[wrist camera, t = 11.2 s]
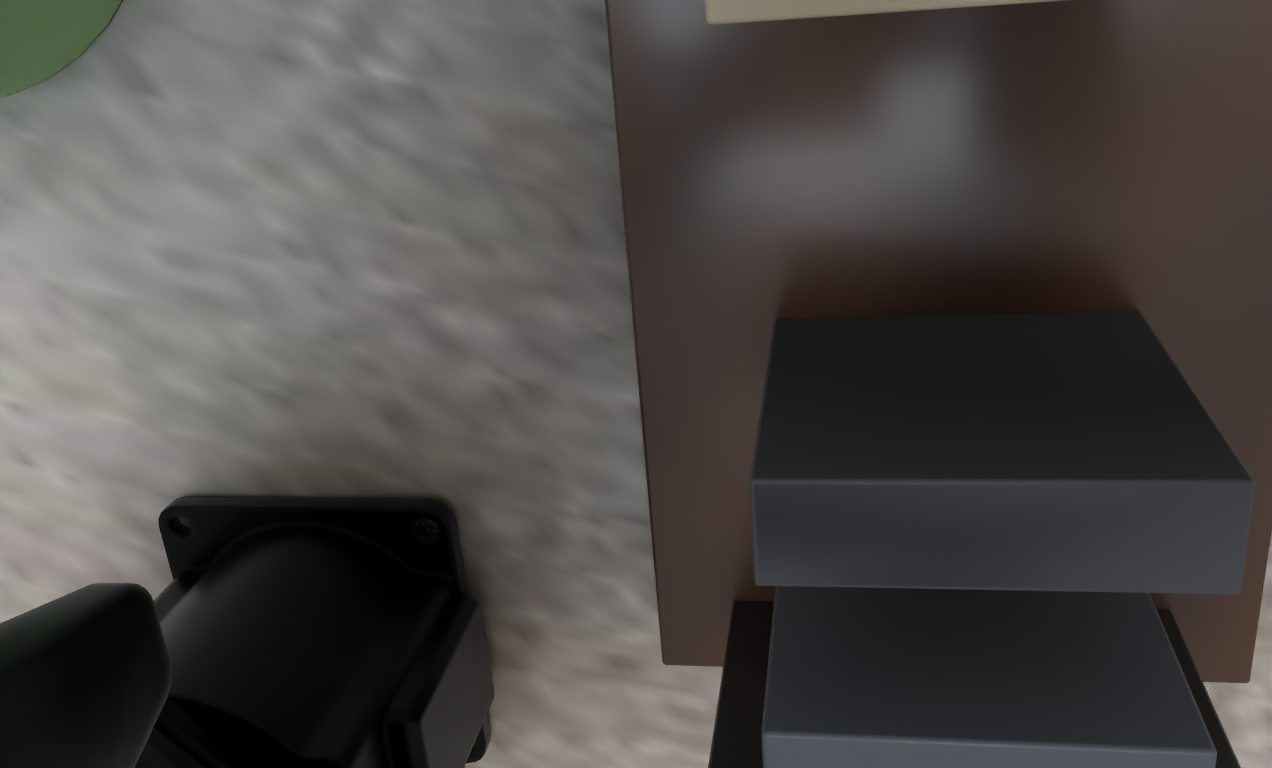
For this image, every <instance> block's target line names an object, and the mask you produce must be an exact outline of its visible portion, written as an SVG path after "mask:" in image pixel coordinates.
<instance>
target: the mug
mask: <svg viewBox="0 0 1272 768" xmlns="http://www.w3.org/2000/svg"><path fill="white" fill-rule="evenodd" d="M121 1H122V0H0V97H4V96H8V95H10V94H13V93H15V92H18V91H20V90H23V89H25V88H28V87H30V86H33V85H35V84H38V83H40V82H43V81H45V80H47V79H48V78H50V77H51V76H52V75H54V74H55V73H57V72H58V71H59V70H61V69H62V68H64V67H65V66H67V65H68V64H69V63H71V62H72V61H74V60H75V59H77V58H78V57H79V56H80V55H81V54H82V53H83V52H84V51H85V50H86V49H87V47H88V46H89V45H90V44H91V43H92V42H93V41H94V40H95V38H96V37H97V36H98V35H99V34H100V33H101V32H102V31H103V30H104V28H105V27H106V26H107V25H108V24H109V22H110V20H111V18H112V17H113V15H114V13H115V11H116V10H117V8H118V6H119V4H120V2H121Z"/></svg>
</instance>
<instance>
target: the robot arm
mask: <svg viewBox="0 0 1272 768" xmlns="http://www.w3.org/2000/svg"><path fill="white" fill-rule="evenodd" d="M179 517H183V518H185V519H186V520H187V521H189V523H190V525H191V527H192V528H190V527H187V526H185V525H184V524H183V523H182V522H181V520H180V519H179ZM421 519H429V520H432V521H433V522H434V523H435V524H437V527H438V529H439V530H436V531H433V530H429V529H428V528H426V527H425V526H424V525H423V523H422V521H421ZM159 528H160V532H161V536H162V539H163V543H164V547H165V550H166V554H167V558H168V561H169V565H170V569H171V572H172V576H173V582H172V583H171V584H170V585H169V586H168V587H167V588H166V589H165V590H164V591H163V592H162V593H161V594H160V595H159V596H158V597H157V598H156V600H155V601H154V602H153V599H152V597H151V595H150V594H149V592H148V591H147V590H146V589H145V588H144V587H142V586H140V585H139V584H131V583H96V584H91V585H88V586H86V587H84V588H81V589H79V590H77V591H74V592H72V593H70V594H67V595H65V596H63V597H61V598H58V599H56V600H54V601H51V602H49V603H47V604H44V605H42V606H40V607H37V608H35V609H33V610H30V611H28V612H26V613H23V614H21V615H19V616H16V617H14V618H12V619H9V620H7V621H5V622H3V623H0V768H464V767H465V764H466V763H472V762H476V761H478V760H480V759H481V758H482V757H483V755H484V754H485V752H486V749H487V747H488V744H489V742H490V729H489V723H488V717H487V712H488V710H489V708H490V705H491V703H492V701H493V698H494V688H493V682H492V676H491V669H490V663H489V656H488V650H487V644H486V637H485V631H484V624H483V618H482V611H481V605H480V602H479V601H478V600H477V599H476V598H475V597H474V595H473V594H472V593H470V592H468V591H467V585H466V579H465V573H464V566H463V560H462V554H461V548H460V541H459V535H458V529H457V523H456V519H455V516H454V513H453V511H452V510H451V509H450V508H449V507H448V506H447V505H446V504H444V503H442V502H441V501H439V500H434V499H402V498H241V497H183V498H178V499H176V500H174V501H173V502H172V503H171V504H170V505H169V506H167V507H166V508H165V509H164V510H163V511H162V512H161V514H160V517H159Z"/></svg>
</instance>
